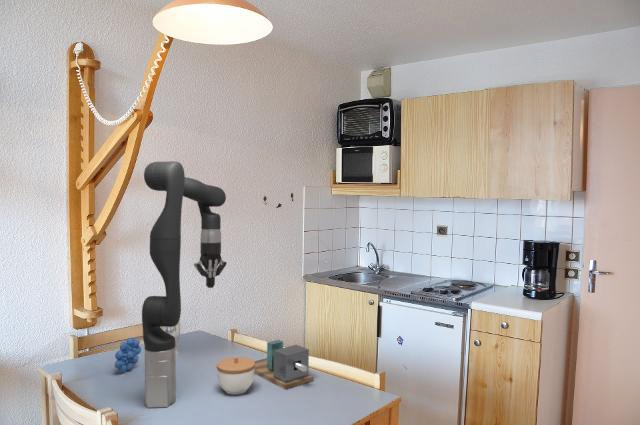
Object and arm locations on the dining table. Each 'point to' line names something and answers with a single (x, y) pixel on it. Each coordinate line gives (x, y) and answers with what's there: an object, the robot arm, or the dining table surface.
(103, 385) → the dining table surface
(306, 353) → the block
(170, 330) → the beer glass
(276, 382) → the base board
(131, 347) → the grapes
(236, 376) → the lidded bowl
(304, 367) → the shaft
